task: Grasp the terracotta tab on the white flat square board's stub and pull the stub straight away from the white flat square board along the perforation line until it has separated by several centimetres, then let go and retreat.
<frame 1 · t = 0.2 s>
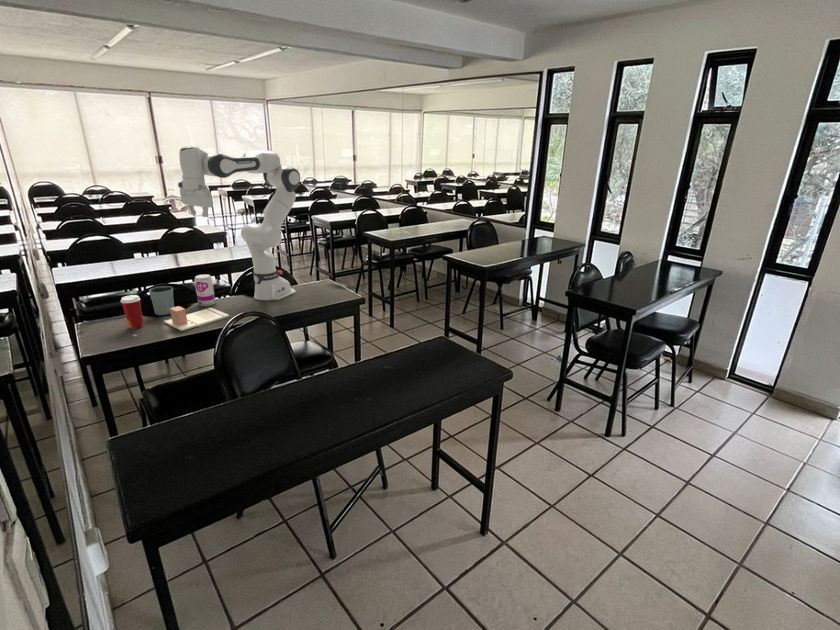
hand: (199, 215, 211), 47 cm above the table, fingers open, 8 cm apart
drinking glass: (165, 312, 228), on the table
paper cup: (136, 326, 210), on the table
supplement can: (207, 304, 239), on the table
white flat square board: (204, 317, 221), on the table
stub: (178, 316, 211), point 4 cm above the table, slide at 0.0 cm
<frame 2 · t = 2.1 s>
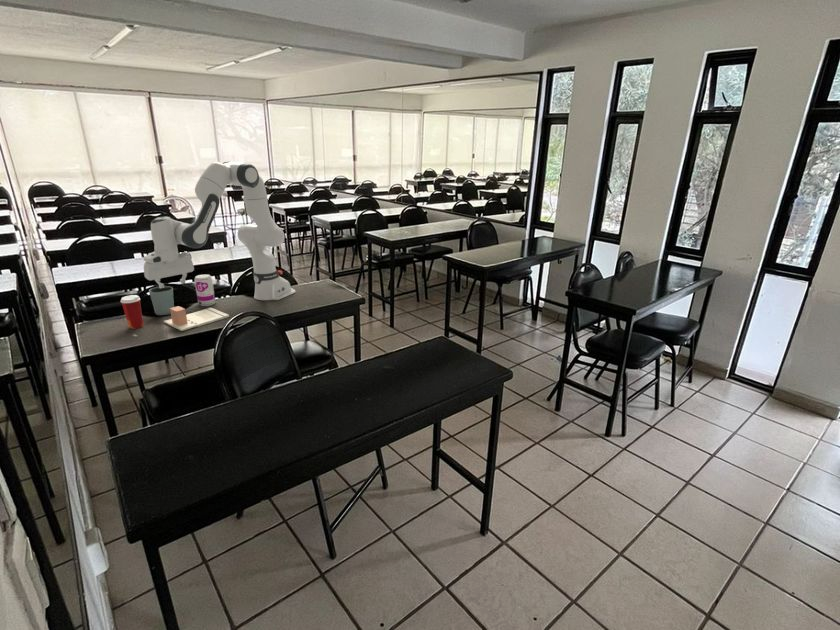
hand: (172, 285, 205), 19 cm above the table, fingers open, 8 cm apart
nothing on the table moved.
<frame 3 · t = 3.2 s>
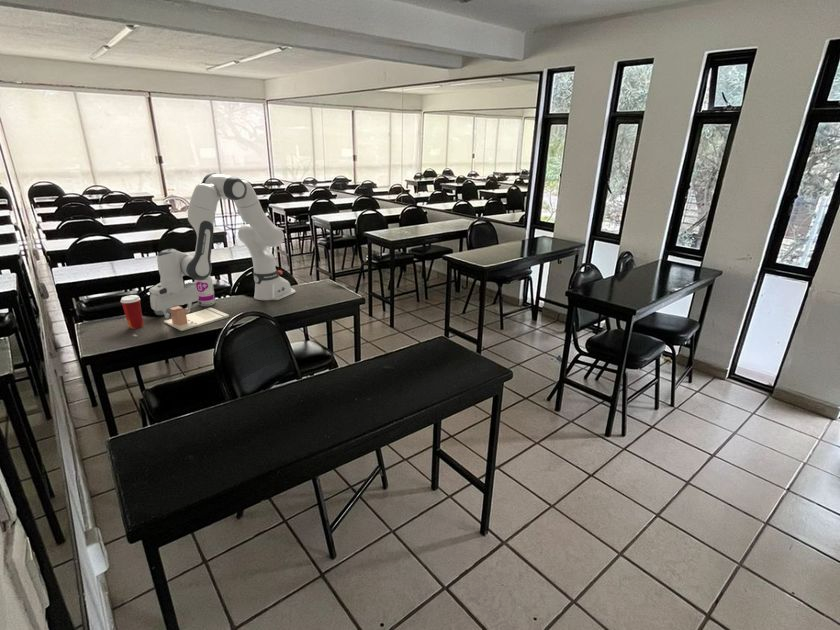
hand: (178, 314, 210), 5 cm above the table, fingers open, 8 cm apart
nothing on the table moved.
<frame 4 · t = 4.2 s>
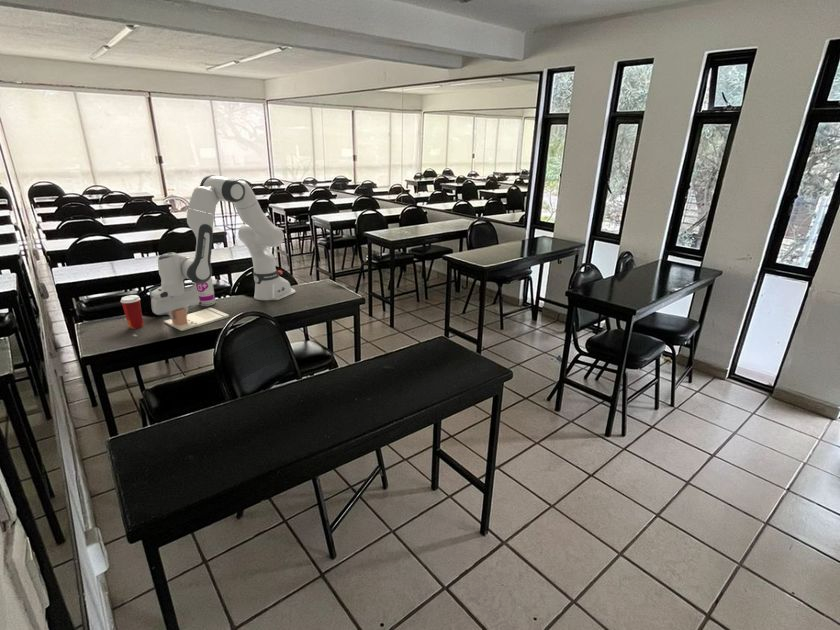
hand: (179, 317, 211), 4 cm above the table, fingers closed on stub, 4 cm apart
stub: (178, 316, 211), point 4 cm above the table, slide at 0.0 cm, touching gripper
everything else where it was.
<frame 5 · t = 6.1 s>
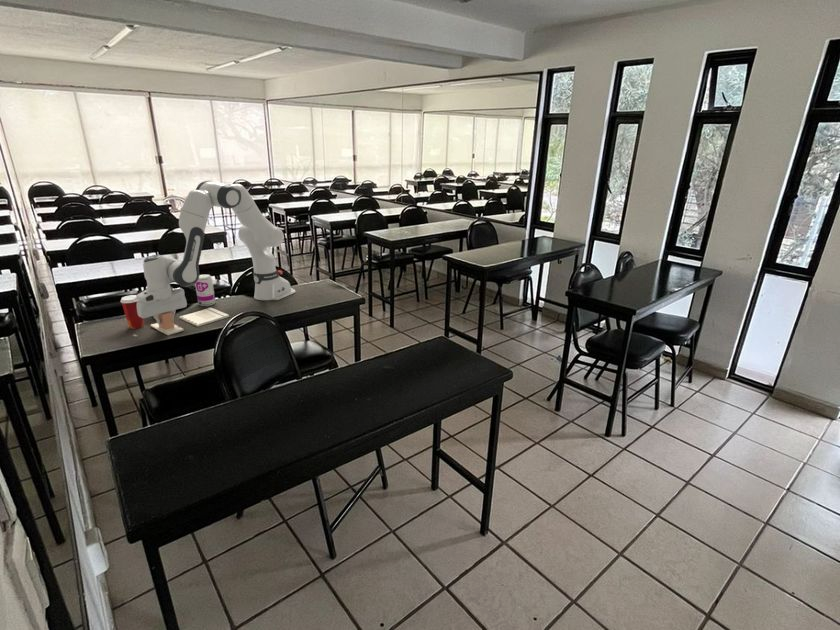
hand: (165, 321, 207), 4 cm above the table, fingers closed on stub, 4 cm apart
stub: (165, 320, 206), point 4 cm above the table, slide at 6.0 cm, touching gripper
everything else where it was.
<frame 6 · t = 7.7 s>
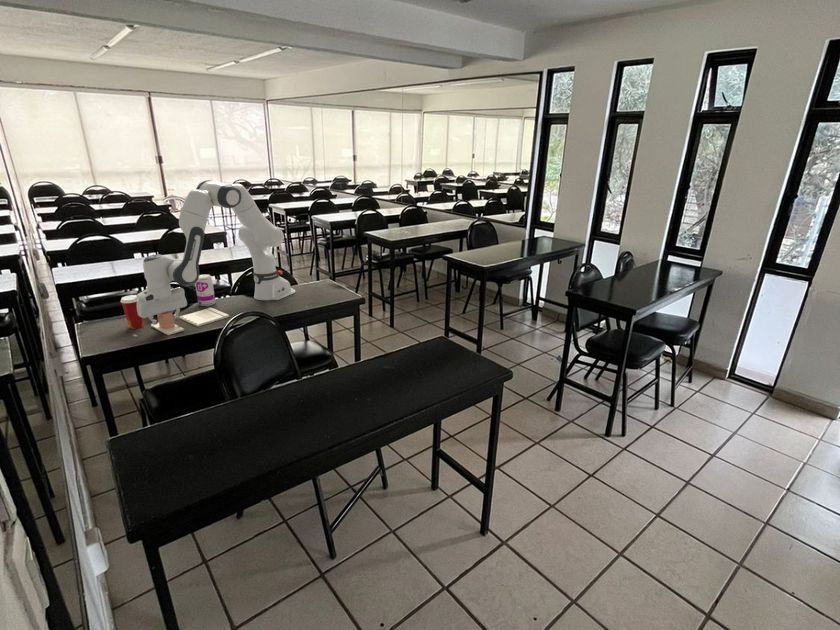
hand: (165, 321, 207), 4 cm above the table, fingers open, 8 cm apart
stub: (165, 320, 206), point 4 cm above the table, slide at 5.9 cm
everything else where it was.
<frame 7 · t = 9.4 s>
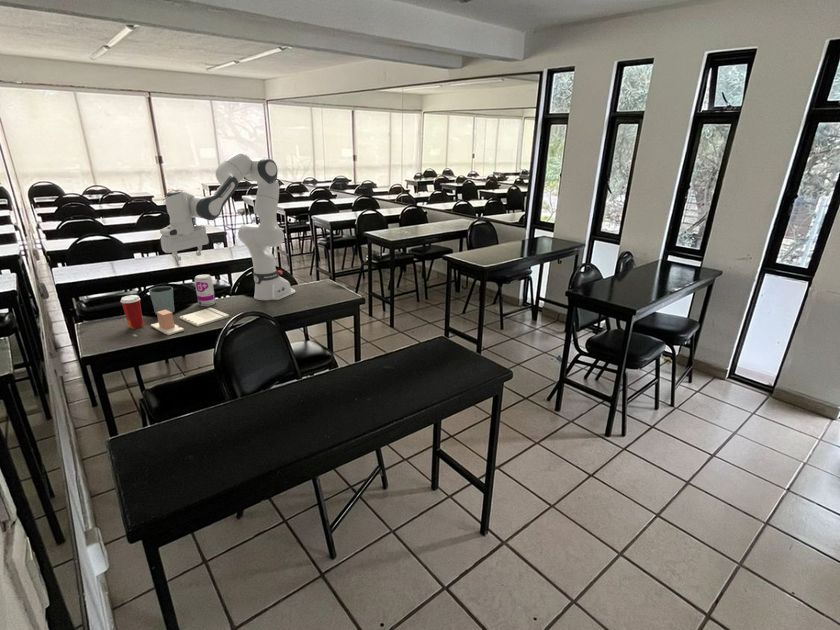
hand: (189, 257, 210), 29 cm above the table, fingers open, 8 cm apart
nothing on the table moved.
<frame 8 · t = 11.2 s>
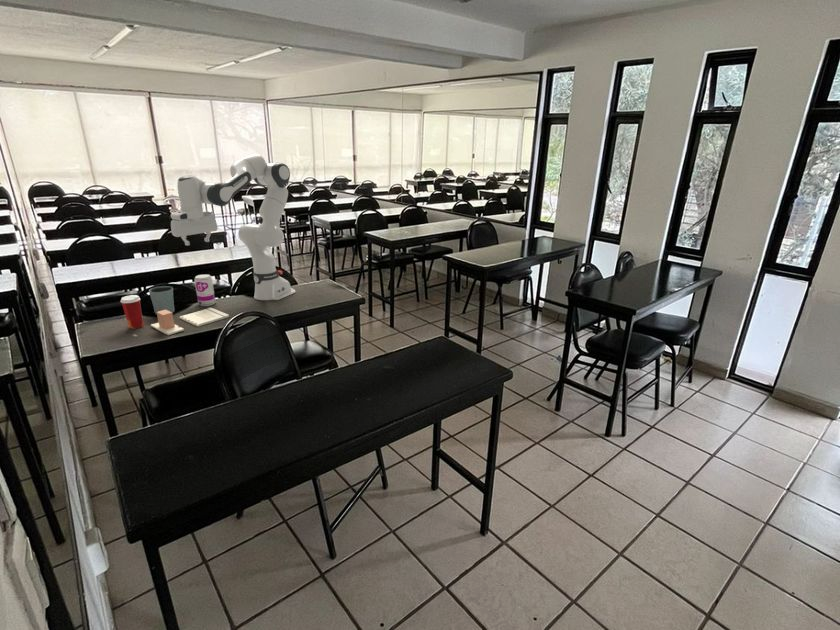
hand: (197, 243, 213), 35 cm above the table, fingers open, 8 cm apart
nothing on the table moved.
at the end: stub slide at 5.9 cm; the gripper is holding nothing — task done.
